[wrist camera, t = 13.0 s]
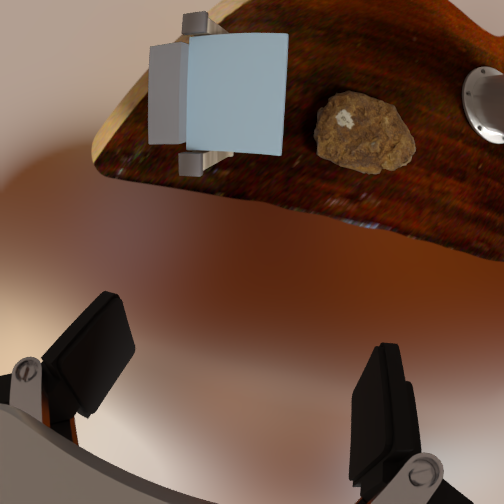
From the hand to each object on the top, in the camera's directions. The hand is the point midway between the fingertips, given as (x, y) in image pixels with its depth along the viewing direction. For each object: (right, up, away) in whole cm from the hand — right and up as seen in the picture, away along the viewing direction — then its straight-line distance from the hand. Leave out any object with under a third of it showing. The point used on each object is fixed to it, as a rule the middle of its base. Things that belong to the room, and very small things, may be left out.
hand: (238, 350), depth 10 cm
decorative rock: (+17, +21, +28) cm, 38 cm away
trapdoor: (-3, +22, +21) cm, 31 cm away
